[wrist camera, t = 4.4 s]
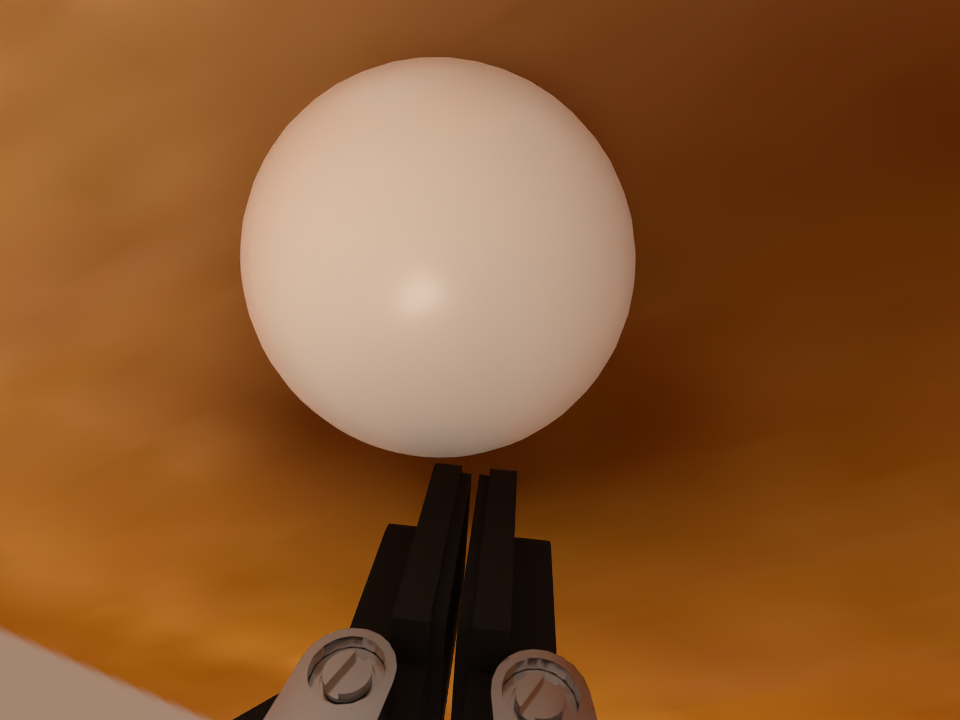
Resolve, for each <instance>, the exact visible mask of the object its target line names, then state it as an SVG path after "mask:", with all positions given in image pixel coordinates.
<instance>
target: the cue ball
mask: <svg viewBox="0 0 960 720" xmlns="http://www.w3.org/2000/svg"><path fill="white" fill-rule="evenodd" d="M635 262H636V253H635V243H634V234H633V226H632V218H631V214H630V211H629V207H628V204H627V200H626V197H625V194H624V191H623V188H622V186H621V183H620V181H619V179H618V177H617V174H616V172H615V170H614V168H613V166H612V164H611V161H610V159H609V158H608V156H607V155H606V153H605V152H604V150H603V149H602V147H601V146H600V144H599V143H598V141H597V140H596V138H595V137H594V136H593V135H592V134H591V132H590V131H589V130H588V129H587V128H586V127H585V126H584V125H583V123H582V122H581V121H580V120H579V119H578V118H577V117H576V116H575V114H574V113H573V112H572V111H571V110H569V109H568V108H567V107H566V106H565V105H563V104H562V103H561V102H560V101H559V100H558V99H556V98H555V97H554V96H553V95H551V94H550V93H548V92H547V91H545V90H543V89H542V88H540V87H539V86H537V85H536V84H534V83H532V82H531V81H529V80H527V79H525V78H522V77H520V76H518V75H516V74H514V73H511V72H509V71H507V70H505V69H502V68H498V67H495V66H491V65H488V64H484V63H481V62H478V61H472V60H464V59H457V58H450V57H420V58H413V59H406V60H400V61H394V62H390V63H387V64H384V65H381V66H377V67H374V68H371V69H368V70H365V71H363V72H360V73H358V74H356V75H354V76H352V77H350V78H348V79H346V80H344V81H341V82H339V83H337V84H335V85H334V86H333V87H331V88H330V89H328V90H327V91H326V92H324V93H323V94H321V95H320V96H318V97H317V98H316V99H314V100H313V101H312V102H311V103H310V104H309V105H308V106H307V107H305V108H304V109H303V110H302V111H301V112H300V113H299V114H298V115H297V116H296V117H295V118H294V119H293V120H292V121H291V122H290V123H289V124H288V125H287V126H286V128H285V129H284V130H283V132H282V133H281V135H280V136H279V137H278V139H277V140H276V142H275V143H274V144H273V146H272V147H271V149H270V151H269V152H268V154H267V156H266V157H265V159H264V161H263V163H262V165H261V167H260V169H259V171H258V173H257V176H256V178H255V180H254V182H253V186H252V189H251V192H250V196H249V199H248V203H247V207H246V210H245V214H244V217H243V224H242V234H241V248H240V265H241V279H242V285H243V290H244V296H245V300H246V305H247V309H248V313H249V316H250V319H251V321H252V324H253V327H254V329H255V332H256V334H257V336H258V339H259V341H260V343H261V346H262V348H263V350H264V351H265V353H266V355H267V357H268V359H269V360H270V362H271V364H272V365H273V366H274V368H275V369H276V370H277V372H278V373H279V374H280V376H281V377H282V379H283V380H284V381H285V383H286V384H287V385H288V387H289V388H290V389H291V390H292V391H293V392H294V393H295V394H296V396H297V397H298V398H299V399H300V400H301V401H302V402H303V403H305V404H306V405H307V406H308V407H309V408H310V409H311V410H313V411H314V412H315V413H316V414H318V415H319V416H320V417H322V418H323V419H324V420H326V421H327V422H329V423H330V424H331V425H333V426H334V427H336V428H337V429H339V430H341V431H342V432H344V433H346V434H348V435H349V436H352V437H354V438H356V439H358V440H360V441H362V442H365V443H367V444H370V445H373V446H375V447H378V448H381V449H385V450H388V451H392V452H396V453H401V454H406V455H413V456H421V457H436V458H444V457H460V456H469V455H474V454H479V453H484V452H487V451H491V450H495V449H498V448H501V447H504V446H507V445H510V444H513V443H515V442H517V441H520V440H522V439H524V438H526V437H528V436H530V435H532V434H533V433H535V432H537V431H539V430H540V429H542V428H544V427H545V426H547V425H548V424H550V423H551V422H553V421H554V420H556V419H557V418H558V417H560V416H561V415H562V414H564V413H565V412H566V411H567V410H568V409H569V408H570V407H571V406H572V405H573V404H574V403H575V402H576V401H577V400H578V399H579V398H580V397H581V396H582V395H583V394H584V393H585V392H586V391H587V390H588V389H589V388H590V386H591V385H592V384H593V383H594V381H595V380H596V379H597V377H598V376H599V374H600V373H601V371H602V370H603V368H604V367H605V365H606V364H607V362H608V360H609V358H610V357H611V355H612V353H613V351H614V350H615V348H616V346H617V343H618V340H619V338H620V335H621V332H622V330H623V327H624V324H625V322H626V319H627V316H628V314H629V309H630V304H631V299H632V294H633V288H634V280H635Z"/></svg>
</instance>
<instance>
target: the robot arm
mask: <svg viewBox="0 0 960 720" xmlns="http://www.w3.org/2000/svg"><path fill="white" fill-rule="evenodd" d="M516 482H517V471H508V470H498V469H491V470H490V476H487V475H479V482H478V489H477V496H476V502H475V509H474V516H473V523H472V530H471V536H470V543H469V550H468V557H467V564H466V570H465V558H466V545H467V531H468V517H469V503H470V489H471V474H468V473H462V466H459V465H450V464H440V463H436V464H435V466H434V469H433V473H432V476H431V480H430V483H429V487H428V490H427V494H426V497H425V501H424V504H423V508H422V511H421V515H420V518H419V522H418V525H417V527H416V526H406V525H397V524H389V525H388V526H387V528H386V530H385V533H384V536H383V538H382V541H381V544H380V547H379V549H378V552H377V555H376V558H375V560H374V563H373V566H372V569H371V571H370V574H369V577H368V580H367V582H366V585H365V588H364V591H363V593H362V596H361V599H360V602H359V604H358V607H357V610H356V613H355V615H354V618H353V621H352V624H351V626H350V629H343V630H338V631H335V632H333V633H330V634H328V635H325V636H323V637H322V638H321V639H319V640H318V641H316V642H315V643H314V644H312V645H311V647H310V648H309V649H308V650H307V651H306V653H305V654H304V655H303V656H302V658H301V659H300V661H299V663H298V664H297V666H296V668H295V669H294V671H293V672H292V674H291V676H290V677H289V679H288V680H287V682H286V684H285V685H284V687H283V689H282V690H281V692H280V693H279V694H277V695H275V696H273V697H272V698H270V699H268V700H266V701H265V702H263V703H261V704H259V705H258V706H256V707H254V708H253V709H251V710H249V711H247V712H246V713H244V714H242V715H240V716H239V717H237V718H235V719H233V720H444V716H445V709H446V702H447V695H448V688H449V681H450V675H451V668H452V661H453V654H454V647H455V640H456V634H457V640H456V654H455V668H454V683H453V697H452V712H451V720H597V717H596V713H595V709H594V706H593V702H592V698H591V694H590V691H589V689H588V686H587V684H586V682H585V679H584V677H583V676H582V675H581V674H580V672H579V671H578V670H577V669H576V667H575V666H574V665H573V664H571V663H570V662H568V661H567V660H566V659H564V658H563V657H561V656H559V655H557V654H556V635H555V615H554V596H553V577H552V557H551V543H550V541H545V540H535V539H526V538H517V537H514V535H515V508H516ZM464 572H465V577H464ZM457 627H458V629H457Z"/></svg>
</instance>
